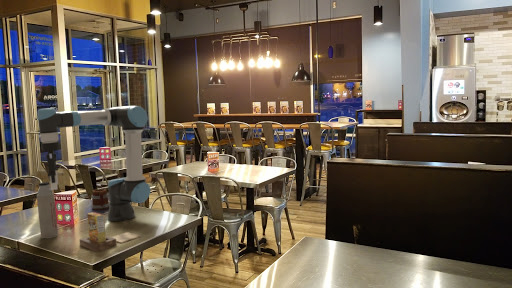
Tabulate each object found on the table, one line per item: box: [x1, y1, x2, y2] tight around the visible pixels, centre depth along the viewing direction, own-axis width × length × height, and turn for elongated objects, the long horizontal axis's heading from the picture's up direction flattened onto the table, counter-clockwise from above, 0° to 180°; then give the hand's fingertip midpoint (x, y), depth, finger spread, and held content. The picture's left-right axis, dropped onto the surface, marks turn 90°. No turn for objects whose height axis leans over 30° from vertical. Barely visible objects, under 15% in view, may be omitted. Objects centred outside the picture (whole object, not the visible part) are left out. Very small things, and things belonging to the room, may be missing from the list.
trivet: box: [110, 231, 141, 244], centre depth 209 cm, size 11×11×1 cm
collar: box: [79, 235, 117, 253], centre depth 200 cm, size 10×15×3 cm, turn 51°
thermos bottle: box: [36, 181, 59, 239], centre depth 217 cm, size 8×8×28 cm
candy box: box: [86, 211, 107, 243], centre depth 199 cm, size 9×4×15 cm, turn 50°
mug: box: [90, 188, 110, 211], centre depth 270 cm, size 12×14×15 cm
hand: (54, 187), depth 197 cm, fingers open, 13 cm apart
